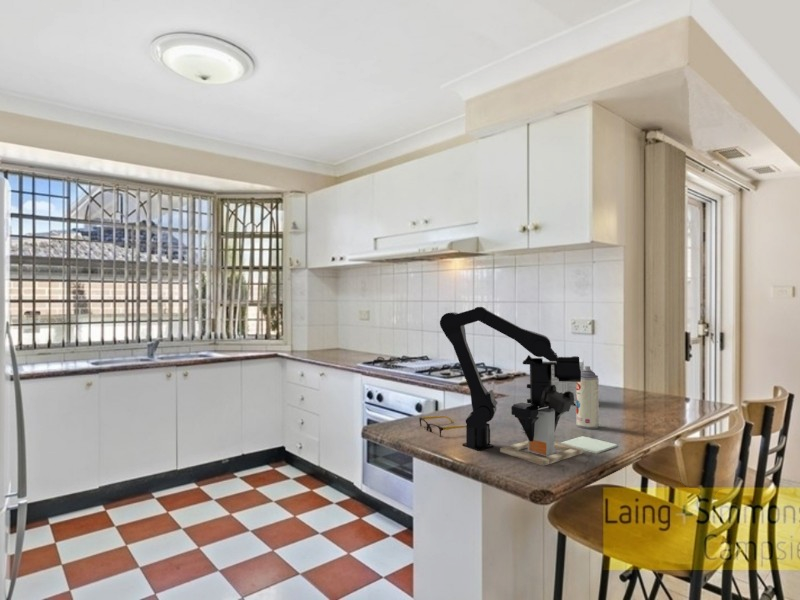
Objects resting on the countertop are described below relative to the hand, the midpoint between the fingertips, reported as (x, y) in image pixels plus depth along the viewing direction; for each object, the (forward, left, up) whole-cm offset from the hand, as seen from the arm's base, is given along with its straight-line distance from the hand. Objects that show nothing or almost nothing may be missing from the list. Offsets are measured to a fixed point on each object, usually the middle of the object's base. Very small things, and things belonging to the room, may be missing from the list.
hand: (541, 438), depth 130 cm
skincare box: (0, 0, -4) cm, 4 cm away
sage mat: (+17, -4, -4) cm, 18 cm away
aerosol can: (+36, +8, -4) cm, 37 cm away
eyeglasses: (-5, +33, -5) cm, 33 cm away
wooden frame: (0, 0, -4) cm, 4 cm away
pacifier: (+14, +15, -5) cm, 21 cm away
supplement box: (+67, +36, -4) cm, 76 cm away
